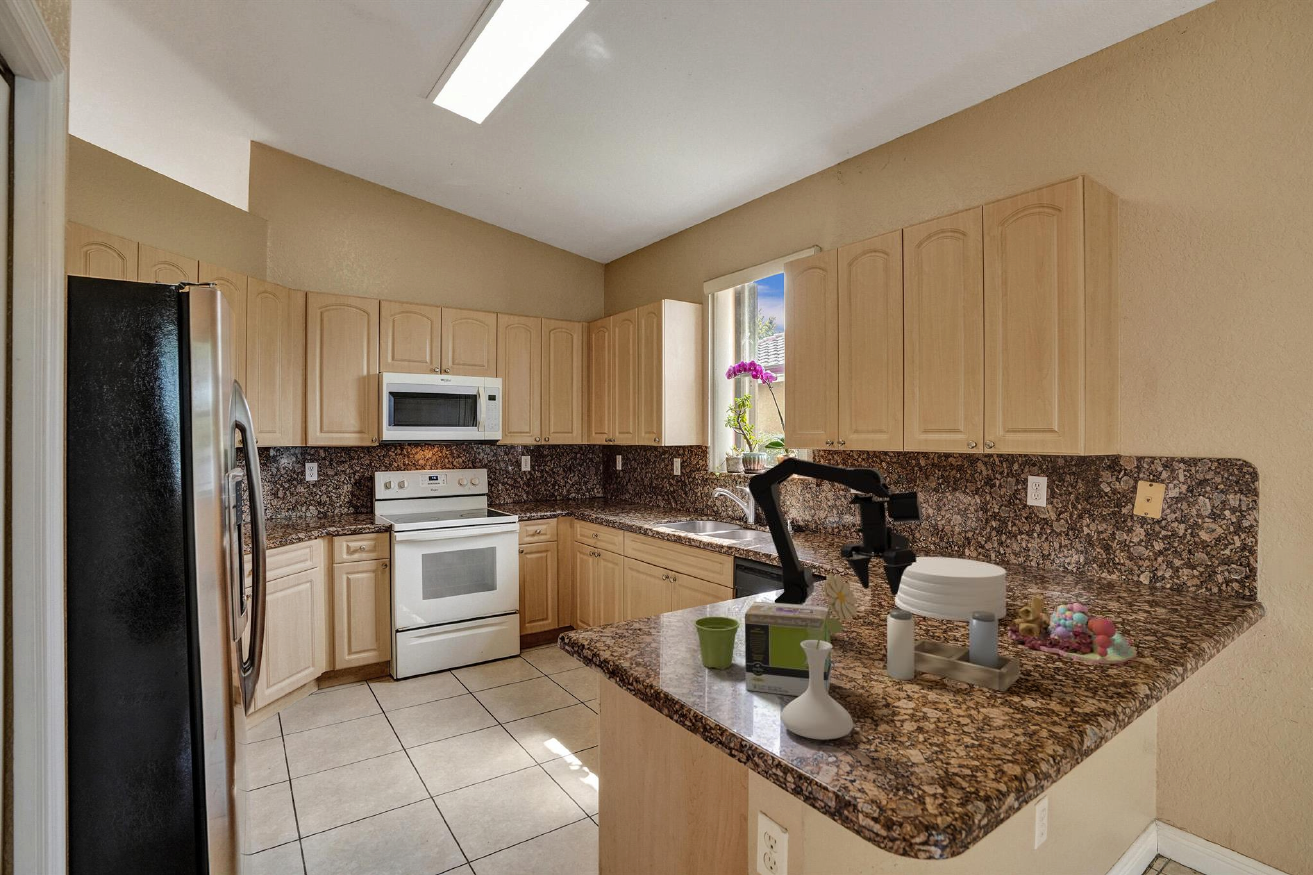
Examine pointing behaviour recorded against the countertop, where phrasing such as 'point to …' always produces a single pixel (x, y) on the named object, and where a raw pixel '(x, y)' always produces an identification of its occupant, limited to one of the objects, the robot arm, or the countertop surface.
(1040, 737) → the countertop surface
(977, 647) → the blue shaker
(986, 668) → the beech slot rack
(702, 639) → the plant pot
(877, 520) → the robot arm
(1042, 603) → the multicoloured low bumpy piece
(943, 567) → the plate stack
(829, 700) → the flower in vase
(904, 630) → the cylinder
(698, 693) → the countertop surface
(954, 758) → the countertop surface
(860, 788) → the countertop surface
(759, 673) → the tea box
